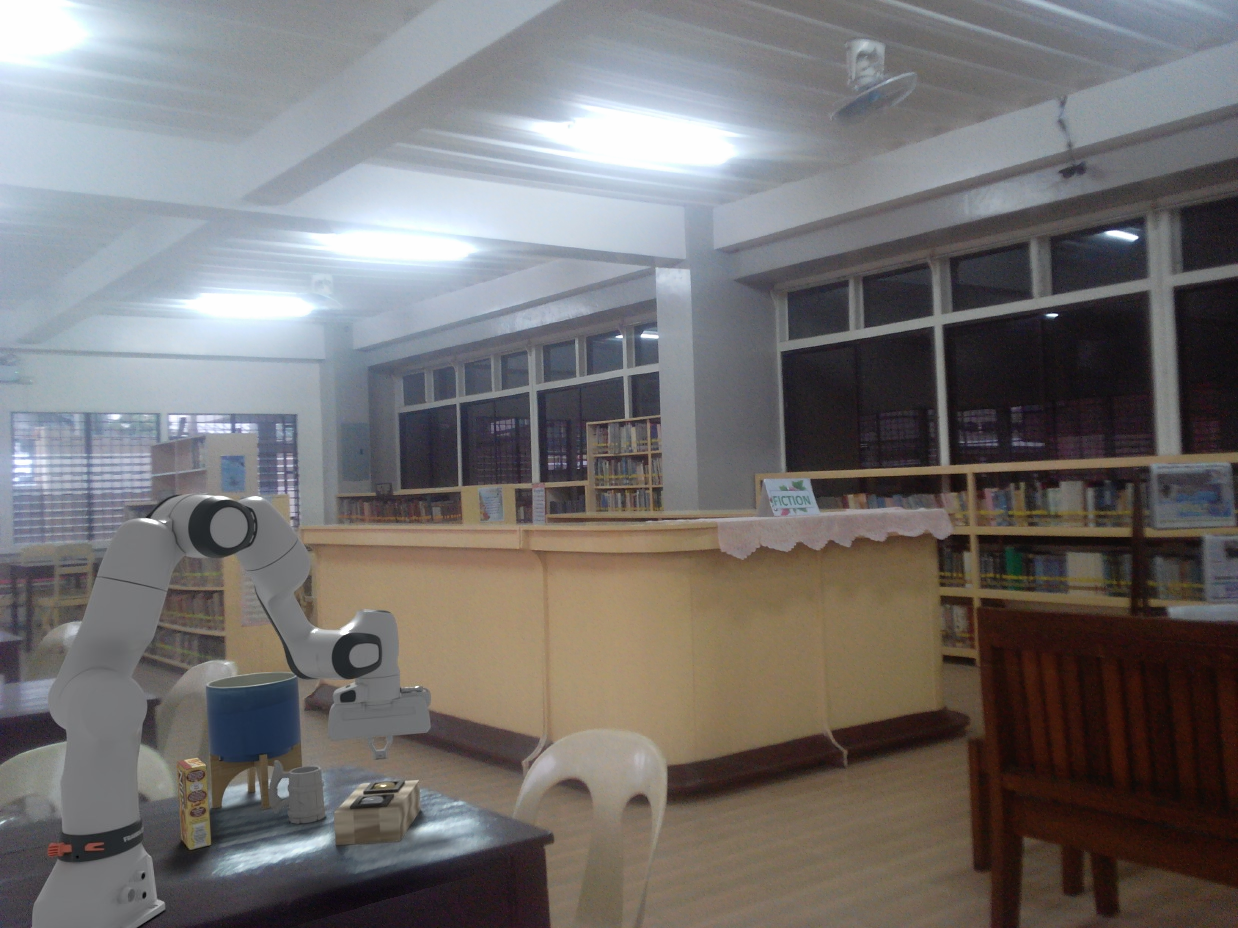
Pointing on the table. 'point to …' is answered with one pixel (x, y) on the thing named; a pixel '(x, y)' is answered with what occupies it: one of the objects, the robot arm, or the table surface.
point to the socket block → (377, 813)
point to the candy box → (193, 803)
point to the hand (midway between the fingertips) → (380, 758)
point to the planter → (252, 729)
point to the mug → (299, 793)
